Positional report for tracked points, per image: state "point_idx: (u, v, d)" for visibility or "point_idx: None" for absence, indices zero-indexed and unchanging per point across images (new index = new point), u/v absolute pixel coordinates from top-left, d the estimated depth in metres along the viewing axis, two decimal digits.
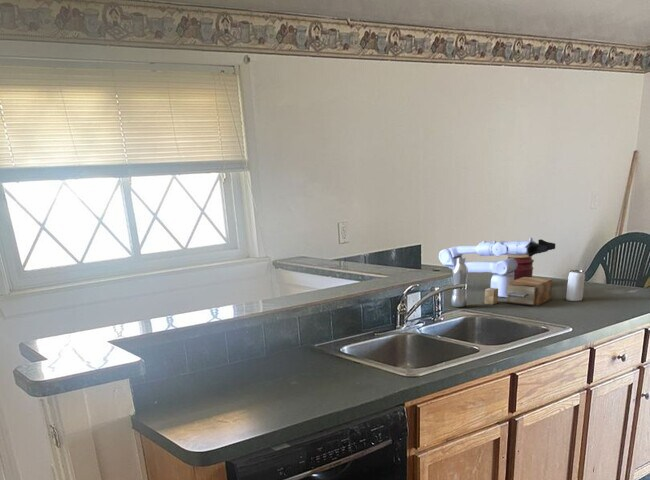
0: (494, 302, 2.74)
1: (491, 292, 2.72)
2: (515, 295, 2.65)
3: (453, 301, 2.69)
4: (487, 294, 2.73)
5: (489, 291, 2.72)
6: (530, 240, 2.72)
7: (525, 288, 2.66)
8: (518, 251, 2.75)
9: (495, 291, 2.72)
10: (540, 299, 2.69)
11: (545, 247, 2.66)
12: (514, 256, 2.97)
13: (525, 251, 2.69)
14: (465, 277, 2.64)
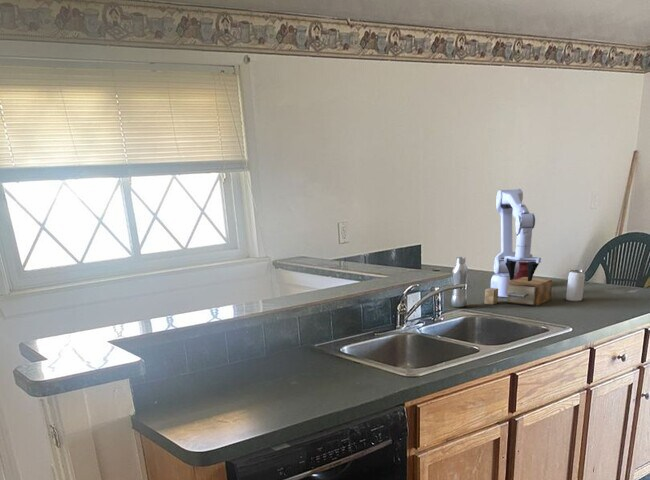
0: (494, 302, 2.74)
1: (491, 292, 2.72)
2: (515, 295, 2.65)
3: (453, 301, 2.69)
4: (487, 294, 2.73)
5: (489, 291, 2.72)
6: (516, 259, 2.60)
7: (525, 288, 2.66)
8: None
9: (495, 291, 2.72)
10: (540, 299, 2.69)
11: None
12: None
13: None
14: (465, 277, 2.64)
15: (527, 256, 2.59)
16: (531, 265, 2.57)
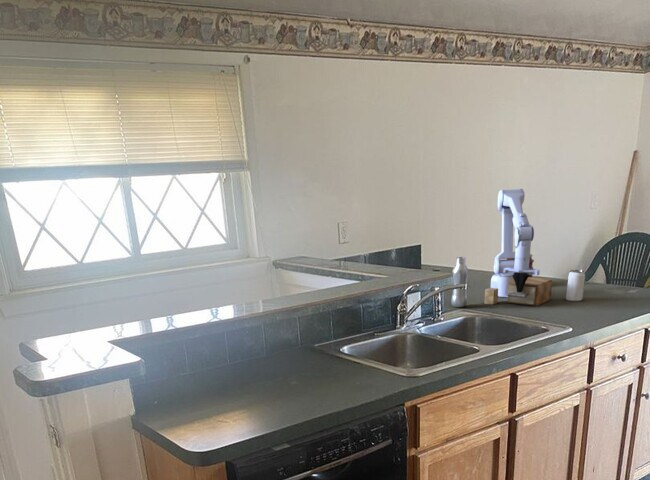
0: (494, 302, 2.74)
1: (491, 292, 2.72)
2: (515, 295, 2.65)
3: (453, 301, 2.69)
4: (487, 294, 2.73)
5: (489, 291, 2.72)
6: (515, 271, 2.62)
7: (525, 288, 2.66)
8: None
9: (495, 291, 2.72)
10: (540, 299, 2.69)
11: None
12: None
13: None
14: (465, 277, 2.64)
15: (526, 268, 2.60)
16: (521, 276, 2.61)
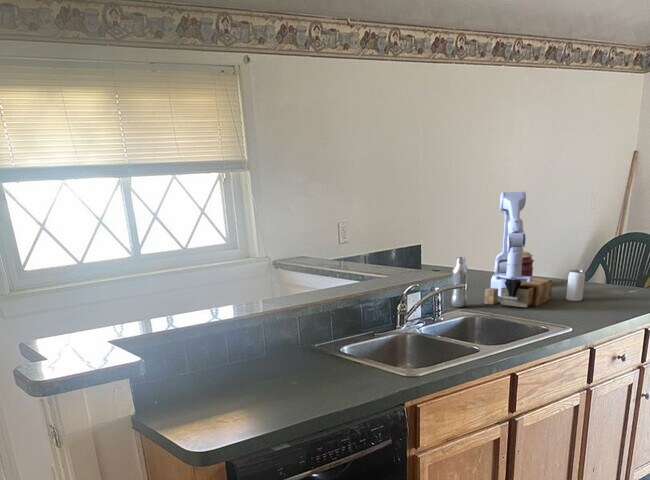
0: (494, 302, 2.74)
1: (491, 292, 2.72)
2: (508, 298, 2.61)
3: (453, 301, 2.69)
4: (487, 294, 2.73)
5: (489, 291, 2.72)
6: None
7: (518, 291, 2.62)
8: None
9: (495, 291, 2.72)
10: (540, 299, 2.69)
11: None
12: None
13: None
14: (465, 277, 2.64)
15: (518, 275, 2.56)
16: (514, 283, 2.57)
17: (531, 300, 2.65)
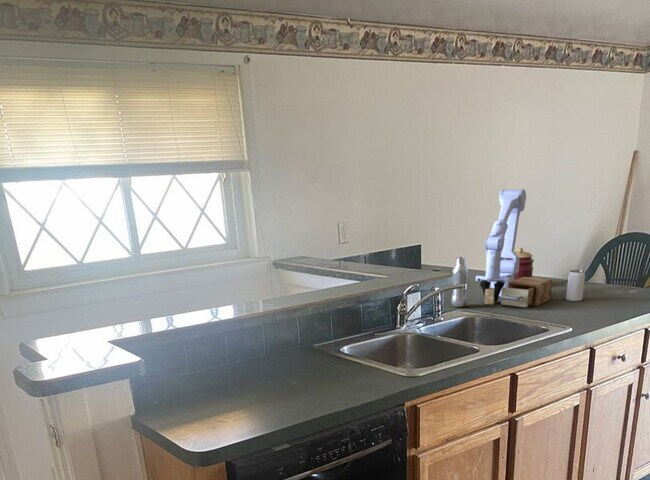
0: (494, 302, 2.74)
1: (491, 292, 2.72)
2: (508, 298, 2.61)
3: (453, 301, 2.69)
4: (487, 294, 2.73)
5: (489, 291, 2.72)
6: (486, 279, 2.70)
7: (519, 291, 2.62)
8: None
9: None
10: (540, 299, 2.69)
11: None
12: None
13: None
14: (465, 277, 2.64)
15: (497, 276, 2.69)
16: (497, 285, 2.68)
17: (531, 300, 2.66)
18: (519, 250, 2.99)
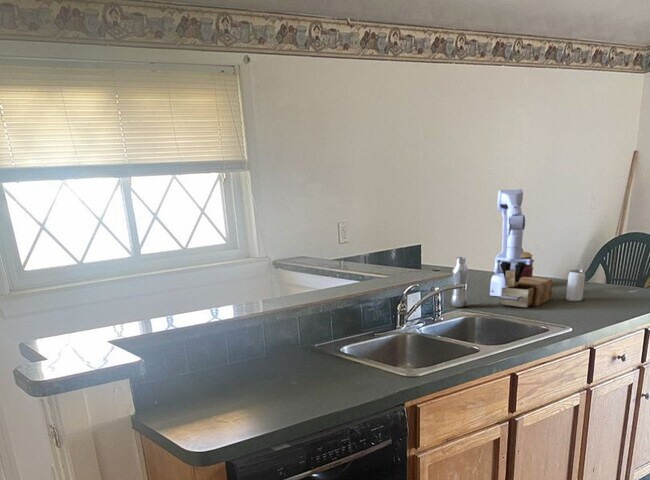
0: (515, 284, 2.65)
1: (512, 274, 2.63)
2: (508, 298, 2.61)
3: (453, 301, 2.69)
4: (508, 276, 2.65)
5: (510, 273, 2.64)
6: (507, 260, 2.62)
7: (519, 291, 2.62)
8: None
9: None
10: (540, 299, 2.69)
11: None
12: None
13: None
14: (465, 277, 2.64)
15: (518, 257, 2.61)
16: (518, 266, 2.60)
17: (531, 300, 2.66)
18: None
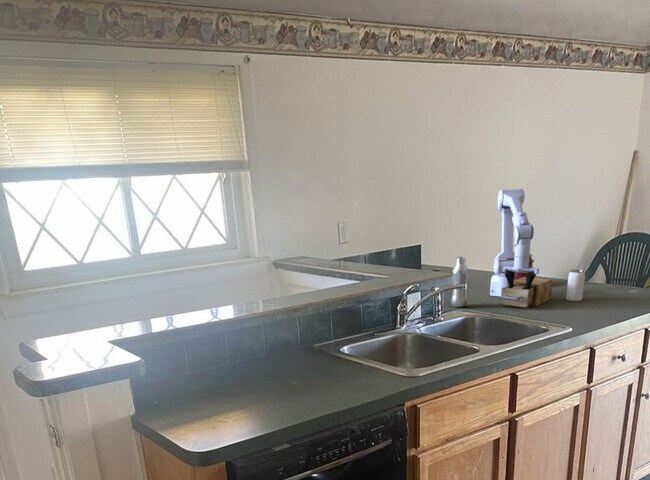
0: None
1: None
2: (508, 298, 2.61)
3: (453, 301, 2.69)
4: None
5: None
6: (515, 270, 2.61)
7: (519, 291, 2.62)
8: None
9: None
10: (540, 299, 2.69)
11: None
12: None
13: None
14: (465, 277, 2.64)
15: (525, 267, 2.60)
16: (529, 276, 2.59)
17: (531, 300, 2.66)
18: None
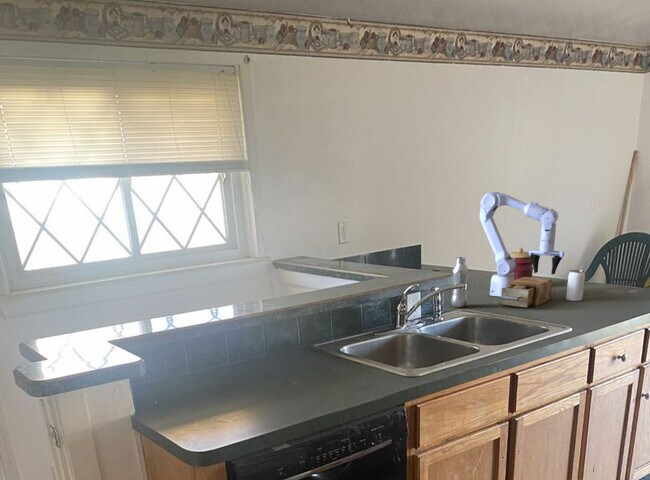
0: None
1: None
2: (508, 298, 2.61)
3: (453, 301, 2.69)
4: None
5: None
6: (541, 253, 2.72)
7: (519, 291, 2.62)
8: None
9: None
10: (540, 299, 2.69)
11: None
12: (514, 256, 2.97)
13: None
14: (465, 277, 2.64)
15: (551, 250, 2.71)
16: (555, 259, 2.70)
17: (531, 300, 2.66)
18: (519, 250, 2.99)
